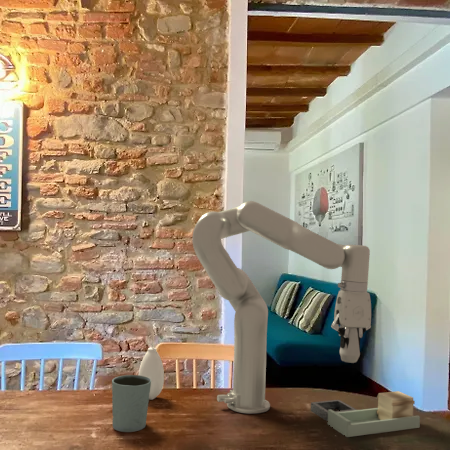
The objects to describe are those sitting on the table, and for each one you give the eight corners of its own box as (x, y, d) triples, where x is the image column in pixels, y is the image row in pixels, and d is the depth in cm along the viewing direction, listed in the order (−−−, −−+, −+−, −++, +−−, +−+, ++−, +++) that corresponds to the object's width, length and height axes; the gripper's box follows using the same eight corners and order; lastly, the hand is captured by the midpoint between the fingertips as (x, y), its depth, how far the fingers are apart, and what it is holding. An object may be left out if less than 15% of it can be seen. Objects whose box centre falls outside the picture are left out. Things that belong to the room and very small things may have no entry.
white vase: (141, 393, 163) (143, 336, 163) (166, 395, 162) (168, 337, 162) (134, 401, 155) (136, 341, 156) (159, 403, 154) (161, 342, 155)
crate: (392, 426, 140) (393, 400, 140) (376, 417, 146) (377, 392, 146) (414, 423, 143) (414, 398, 143) (397, 415, 149) (398, 390, 149)
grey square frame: (328, 422, 143) (328, 413, 143) (310, 411, 152) (311, 402, 152) (357, 419, 147) (357, 410, 147) (338, 408, 156) (338, 399, 156)
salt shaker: (359, 364, 148) (362, 318, 148) (339, 362, 149) (342, 316, 149) (358, 359, 154) (361, 315, 154) (338, 357, 155) (341, 313, 155)
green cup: (107, 421, 139) (108, 376, 139) (144, 417, 143) (145, 373, 143) (114, 435, 130) (116, 387, 130) (154, 430, 134) (155, 383, 134)
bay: (346, 437, 133) (347, 421, 133) (327, 424, 142) (328, 409, 142) (419, 427, 142) (419, 412, 142) (397, 416, 150) (397, 402, 150)
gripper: (337, 288, 145) (333, 354, 145) (385, 289, 151) (381, 353, 151) (322, 285, 152) (318, 348, 152) (368, 286, 158) (364, 346, 158)
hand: (349, 349), depth 151 cm, fingers closed on salt shaker, 3 cm apart
